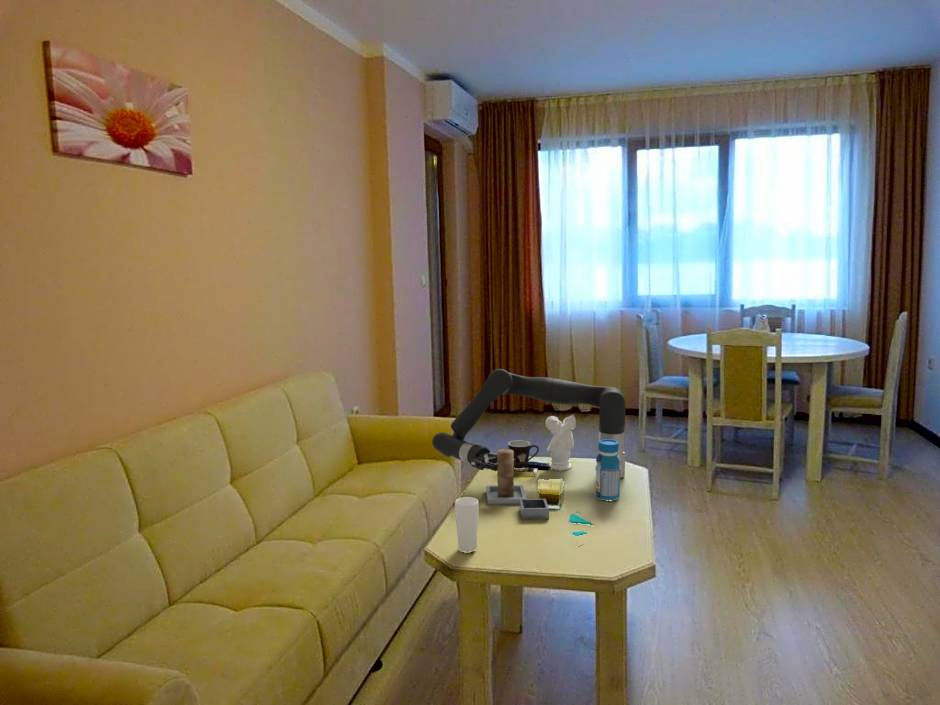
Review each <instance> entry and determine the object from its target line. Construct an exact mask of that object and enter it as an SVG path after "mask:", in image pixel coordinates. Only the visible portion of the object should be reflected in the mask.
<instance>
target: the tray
mask: <svg viewBox="0 0 940 705" xmlns="http://www.w3.org/2000/svg"><path fill="white" fill-rule="evenodd" d="M485 493H486V500H487V506H510V505H515V506H516V505H519V499H528V498H527V494H526V491H525V487H524V485H523V484H514V497H513V498H499V497H498V484H496V485H495V484H494V485H485Z"/></svg>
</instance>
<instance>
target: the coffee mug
mask: <svg viewBox="0 0 940 705" xmlns="http://www.w3.org/2000/svg"><path fill="white" fill-rule="evenodd" d="M507 445H508V447H507V448H508V449H511V450H513V451H514V459H515V460H516V465H514V467H515V468H522V467H525V466H527V465H528V466H529V461H530V460H531V459H533V458H534V457H536V456H537V455H538V453H539V450H540V449H539V446H538V445H535V444H533V445H531V442H529V441H528V440H527V441H526V440H521V439H519V440H510V441H509V442H508V443H507ZM534 447H535V448H536V452H535V453H534V454H533V455H531V456H530V450H531V449H532V448H534Z"/></svg>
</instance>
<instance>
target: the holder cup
mask: <svg viewBox="0 0 940 705" xmlns="http://www.w3.org/2000/svg"><path fill="white" fill-rule="evenodd" d="M518 507H519V513H520V516H521V517H520V518H521V520H522V521H526V520H527V521H531V520H534V521H536V520H537V521H539V520H540V521H541V520H542V521H543V520H549V519H550V508H549V505H548V502H547V499H546V498H527V499H519V506H518Z"/></svg>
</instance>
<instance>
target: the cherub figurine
mask: <svg viewBox="0 0 940 705" xmlns="http://www.w3.org/2000/svg"><path fill="white" fill-rule="evenodd" d="M576 420H577V419H576V417H575V415H574V414H571V415H570V416H566V417H565V418H564V419H563V420H562V421H563V422H562V421H561V420H560V419H559V418H558V417H557V416H555V415H550V416H548V417H547V418H546V420H545V422H544V423H545V427H546V428H547V429H548V430H549V431H550V433H551V434H552V435H553V436H552V438H551V441H550V443H549V444H548V446H547V448H546V451H547V452H548V453H550V458H551V460H550V463H549V465H548V466H550V467H551V468H552V469H551V468H550V467H549V468H550V469H551V470H553V469H555V470H554V471H557V470H559V471H560V472H563V471H569V470H570V469H572V468H573V467H572V463H570V461H571V460H570V459H571V452H572V451H571V450H572V449H574V447H575V443H574V435H573V432H572V431H573V430H575V429H576V427H577V426H576V425H577V424H576V423H577V421H576ZM559 471H558V472H559Z"/></svg>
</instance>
